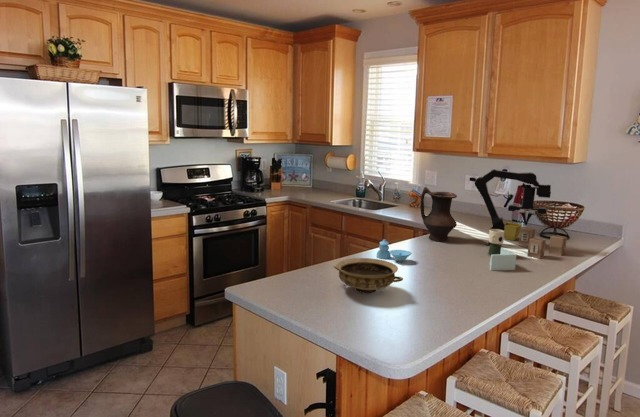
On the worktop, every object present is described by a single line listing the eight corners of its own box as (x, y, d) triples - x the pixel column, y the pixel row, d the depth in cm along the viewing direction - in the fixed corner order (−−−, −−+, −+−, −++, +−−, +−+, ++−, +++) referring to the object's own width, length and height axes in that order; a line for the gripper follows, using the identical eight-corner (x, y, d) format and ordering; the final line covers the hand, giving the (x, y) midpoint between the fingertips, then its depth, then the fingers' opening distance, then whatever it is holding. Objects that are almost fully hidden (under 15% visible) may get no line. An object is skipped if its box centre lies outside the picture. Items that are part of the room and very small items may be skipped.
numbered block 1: (529, 246, 269) (530, 230, 268) (518, 244, 273) (520, 228, 272) (533, 244, 274) (535, 228, 272) (523, 242, 278) (524, 227, 276)
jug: (452, 236, 287) (456, 186, 282) (458, 244, 269) (462, 190, 264) (416, 234, 289) (419, 184, 284) (419, 242, 271) (422, 188, 266)
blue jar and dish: (415, 261, 233) (416, 243, 231) (403, 266, 225) (404, 247, 224) (383, 254, 245) (384, 236, 243) (371, 258, 237) (372, 240, 235)
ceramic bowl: (414, 290, 192) (415, 266, 190) (385, 308, 173) (387, 281, 171) (349, 275, 209) (350, 252, 207) (316, 289, 190) (317, 265, 188)
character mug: (497, 258, 242) (500, 233, 239) (483, 256, 246) (485, 230, 244) (505, 254, 250) (507, 230, 248) (491, 252, 254) (494, 227, 252)
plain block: (560, 255, 251) (562, 238, 250) (548, 253, 255) (550, 236, 254) (564, 253, 255) (566, 237, 254) (553, 251, 260) (554, 235, 258)
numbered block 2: (539, 259, 243) (541, 241, 242) (527, 256, 248) (528, 239, 246) (543, 256, 248) (545, 239, 246) (532, 254, 252) (533, 237, 251)
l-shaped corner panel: (501, 263, 236) (502, 248, 234) (514, 270, 224) (516, 254, 223) (478, 263, 234) (479, 248, 232) (490, 271, 222) (492, 255, 221)
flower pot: (516, 242, 278) (517, 226, 277) (500, 239, 284) (501, 224, 282) (520, 239, 285) (521, 224, 284) (505, 236, 291) (506, 222, 289)
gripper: (548, 196, 262) (545, 224, 264) (511, 193, 270) (508, 220, 272) (547, 198, 252) (544, 228, 254) (509, 195, 260) (506, 224, 263)
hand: (525, 225), depth 261 cm, fingers closed
